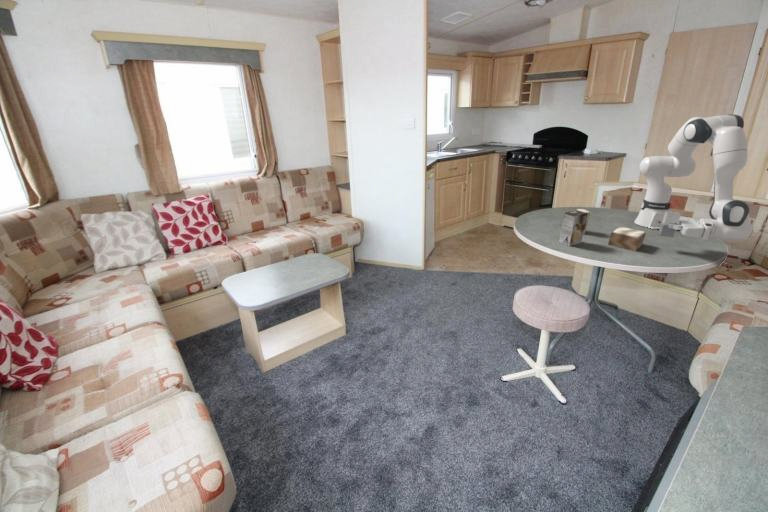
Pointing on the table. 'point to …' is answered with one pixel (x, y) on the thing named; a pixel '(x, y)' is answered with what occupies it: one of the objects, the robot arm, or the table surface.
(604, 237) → the table surface
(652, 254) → the table surface
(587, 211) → the skincare box
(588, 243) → the table surface
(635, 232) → the walnut stand
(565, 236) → the coffee box
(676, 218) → the block
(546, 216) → the table surface
